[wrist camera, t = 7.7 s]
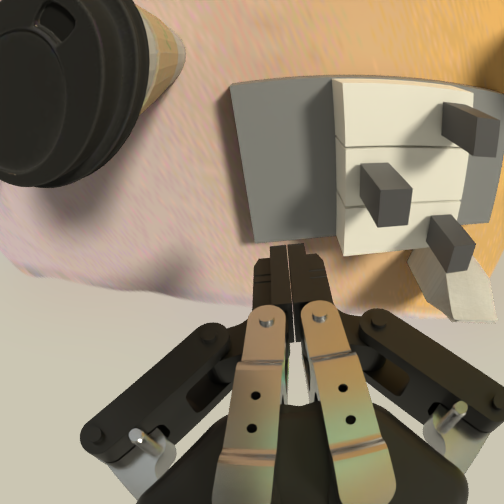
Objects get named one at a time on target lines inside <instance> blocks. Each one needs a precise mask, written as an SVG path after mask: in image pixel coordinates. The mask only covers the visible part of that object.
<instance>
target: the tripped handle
mask: <svg viewBox="0 0 504 504" xmlns="http://www.w3.org/2000/svg"><path fill="white" fill-rule="evenodd" d="M412 192H413V188H412V187H411V186H410V185H409V184H408V183H407V182H406V181H405V179H404V178H403V177H402V176H401V175H400V174H399V173H398V172H397V171H396V170H395V169H394V168H393V167H392V166H391V165H390V164H389V163H388V162H387V163H360V195H359V196H360V198H361V200H362V201H363V203H364V205H365V207H366V208H367V210H368V212H369V213H370V215H371V217H372V219H373V221H374V222H375V224H376V226H377V228H381V227H392V226H404V225H408V221H409V215H410V208H411V200H412Z"/></svg>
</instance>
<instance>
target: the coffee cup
mask: <svg viewBox="0 0 504 504" xmlns="http://www.w3.org/2000/svg"><path fill="white" fill-rule="evenodd" d="M185 58H186V52H185V47H184V44H183V42H182V40H181V39H180V37H179V36H178V35H177V34H176V33H175V32H174V31H173V30H171V29H170V28H168V27H167V26H166V25H165V24H164V23H163V22H162V21H161V20H160V19H158V18H157V17H155V16H154V15H152V14H151V13H149V12H147V11H146V10H144V9H142V8H141V7H139V6H137V5H136V4H134V2H133V1H132V0H2V1H1V2H0V180H2V181H4V182H6V183H9V184H12V185H15V186H21V187H33V186H34V187H40V188H54V187H61V186H65V185H68V184H71V183H73V182H76V181H78V180H80V179H81V178H84V177H86V176H88V175H90V174H92V173H93V172H95V171H97V170H98V169H100V168H101V167H102V166H104V165H105V164H106V163H107V162H108V161H109V160H110V159H111V158H112V157H113V156H114V155H115V154H116V153H117V152H118V151H119V149H120V148H121V147H122V145H123V144H124V143H125V141H126V140H127V138H128V137H129V135H130V133H131V131H132V129H133V128H134V126H135V123H136V121H137V119H138V117H139V115H140V114H142V113H143V112H144V111H145V110H146V109H147V108H148V107H149V106H150V105H151V104H152V103H153V102H154V101H155V100H156V99H157V98H158V97H159V96H160V95H161V94H162V93H163V92H164V90H165V89H166V88H167V87H168V86H169V85H170V84H171V83H172V82H173V81H175V79H176V78H177V77H178V75H179V74H180V72H181V70H182V68H183V66H184V63H185Z"/></svg>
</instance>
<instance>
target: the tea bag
mask: <svg viewBox="0 0 504 504" xmlns="http://www.w3.org/2000/svg"><path fill="white" fill-rule="evenodd" d="M407 264H408V266H409V267H410V269H411V271H412V273H413V275H414V277H415V279H416V281H417V283H418V285H419V287H420V289H421V291H422V293H423V295H424V297H425V299H426V301H427V302H428V303H430V304H431V305H433V306H434V307H436V308H437V309H439V310H440V311H442V312H443V313H444V314H445V315H446V316H447V317H448V318H449V319H450V321H451V322H462V323H463V322H464V323H495V322H494V321H498V319H497V316H496V312H495V307H494V302H493V295H492V289H491V284H490V279H489V277H488V276H487V274H486V273H485V271H484V270H483V269H482V267H481V266H480V264H479V263H478V262H477V260H476V259H475V257H474V256H473V255H472V258H471V261H470V264H469V267H468V270H467V271H460V272H454V273H447V274H446V272H445V271H444V269H443V267H442V266H441V264H440V262H439V261H438V259H437V258H436V256H435V255H434V253H433V252H432V250H431V248H430V247H428V248H419V249H413V251H412V253H411V255H410V257H409V259H408V261H407Z"/></svg>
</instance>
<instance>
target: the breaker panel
mask: <svg viewBox="0 0 504 504" xmlns="http://www.w3.org/2000/svg"><path fill="white" fill-rule="evenodd" d="M230 93H231V99H232V105H233V111H234V117H235V123H236V129H237V135H238V141H239V147H240V154H241V160H242V166H243V172H244V178H245V184H246V191H247V197H248V203H249V209H250V215H251V222H252V228H253V234H254V240H255V243H265V242H275V241H286V240H297V239H307V238H318V237H329V236H337V239H338V241H339V244H340V247H341V250H342V253H343V256H352V255H362V254H371V253H381V252H391V251H400V250H409V249H419V248H428V247H430V248H431V250H432V252H433V253H434V255H435V256H436V258H437V259H438V261H439V262H440V264H441V266H442V267H443V269H444V271H445V272H446V274H447V273H454V272H460V271H467V270H468V267H469V264H470V261H471V258H472V255H473V252H474V249H475V245H476V243H475V242H474V241H473V240H472V238H471V237H470V236H469V235H468V233H467V232H466V231H465V230H464V229H463V227H462V226H461V225H466V224H478V223H489V220H490V217H491V213H492V209H493V205H494V201H495V196H496V192H497V188H498V183H499V178H500V173H501V167H502V161H503V155H504V94H503V93H500V92H498V91H494V90H489V89H485V88H480V87H475V86H469V85H464V84H457V83H451V82H444V81H437V80H428V79H419V78H408V77H395V76H376V75H319V76H299V77H285V78H274V79H264V80H255V81H247V82H240V83H233V84H231V85H230ZM387 162H388V163H389V164H390V165H391V166H392V167H393V168H394V169H395V170H396V171H397V172H398V173H399V174H400V175H401V176H402V177H403V178H404V179H405V181H406V182H407V183H408V184H409V185H410V186H411V187H412V188H413V192H412V200H411V208H410V215H409V221H408V225H404V226H392V227H381V228H377V226H376V224H375V222H374V221H373V219H372V217H371V215H370V213H369V212H368V210H367V208H366V207H365V205H364V203H363V201H362V200H361V198H360V196H359V195H360V163H387Z"/></svg>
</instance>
